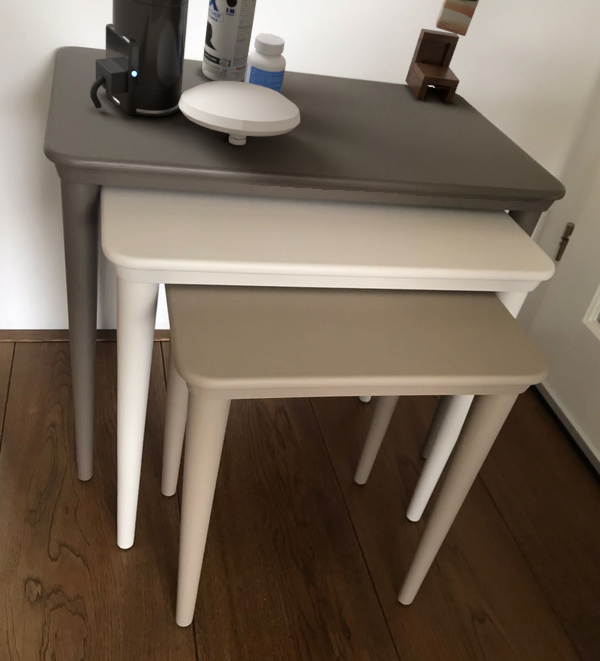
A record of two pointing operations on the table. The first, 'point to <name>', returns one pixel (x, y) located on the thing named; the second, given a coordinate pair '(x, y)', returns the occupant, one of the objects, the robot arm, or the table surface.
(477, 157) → the table surface
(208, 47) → the spray can
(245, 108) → the white domed disc
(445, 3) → the cream cosmetic box
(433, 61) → the miniature wooden chair
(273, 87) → the pill bottle
